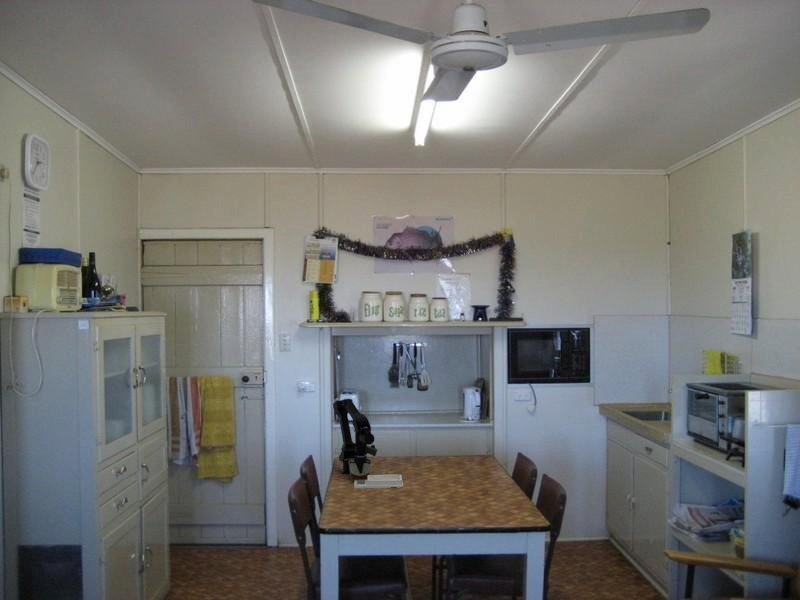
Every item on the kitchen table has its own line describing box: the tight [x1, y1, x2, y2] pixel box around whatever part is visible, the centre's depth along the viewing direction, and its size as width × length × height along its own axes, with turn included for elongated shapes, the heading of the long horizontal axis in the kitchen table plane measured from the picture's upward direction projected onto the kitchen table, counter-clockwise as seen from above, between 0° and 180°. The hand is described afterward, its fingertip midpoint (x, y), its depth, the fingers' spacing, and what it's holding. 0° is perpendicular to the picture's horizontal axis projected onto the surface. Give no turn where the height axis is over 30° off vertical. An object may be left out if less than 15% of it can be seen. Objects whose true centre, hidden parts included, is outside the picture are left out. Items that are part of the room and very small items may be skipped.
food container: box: [348, 458, 373, 481], centre depth 332 cm, size 12×6×10 cm, turn 85°
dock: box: [353, 474, 404, 489], centre depth 320 cm, size 12×24×4 cm, turn 93°
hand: (360, 471), depth 332 cm, fingers closed on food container, 6 cm apart
